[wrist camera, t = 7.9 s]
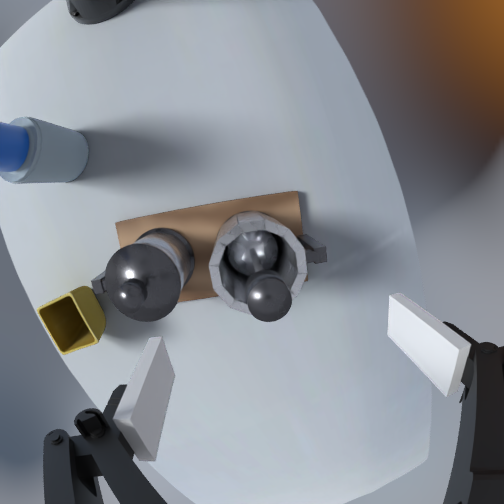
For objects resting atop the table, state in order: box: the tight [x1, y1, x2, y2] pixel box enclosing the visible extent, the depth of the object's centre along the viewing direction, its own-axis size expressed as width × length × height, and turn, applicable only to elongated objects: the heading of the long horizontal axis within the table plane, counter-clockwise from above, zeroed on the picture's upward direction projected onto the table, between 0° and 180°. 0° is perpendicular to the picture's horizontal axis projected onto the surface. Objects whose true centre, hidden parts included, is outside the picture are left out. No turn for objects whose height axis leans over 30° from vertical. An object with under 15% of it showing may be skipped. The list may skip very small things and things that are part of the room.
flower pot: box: [37, 286, 106, 355], centre depth 41 cm, size 9×9×9 cm
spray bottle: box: [0, 117, 89, 184], centre depth 27 cm, size 9×9×25 cm
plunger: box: [227, 229, 292, 322], centre depth 31 cm, size 7×7×19 cm
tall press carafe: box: [209, 211, 327, 315], centre depth 37 cm, size 10×13×13 cm
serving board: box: [115, 191, 308, 302], centre depth 44 cm, size 14×28×2 cm, turn 99°
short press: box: [91, 227, 195, 322], centre depth 35 cm, size 10×13×16 cm
